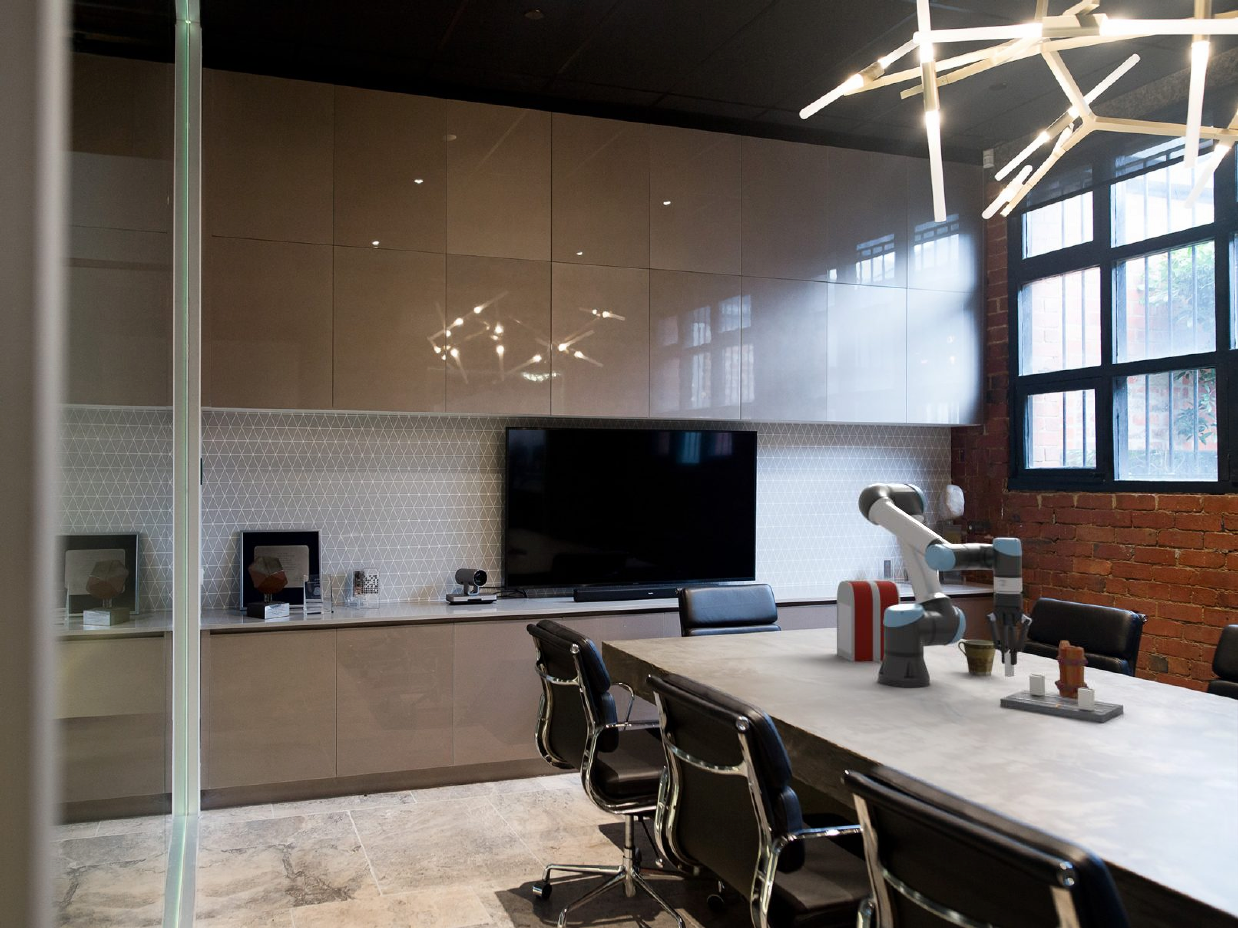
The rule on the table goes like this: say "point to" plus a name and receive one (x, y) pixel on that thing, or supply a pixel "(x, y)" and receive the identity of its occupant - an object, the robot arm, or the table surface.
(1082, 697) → the fader near
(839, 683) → the table surface
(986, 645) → the ceramic cup
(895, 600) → the red striped block
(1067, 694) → the mug
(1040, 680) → the fader far
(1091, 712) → the console
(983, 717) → the table surface
